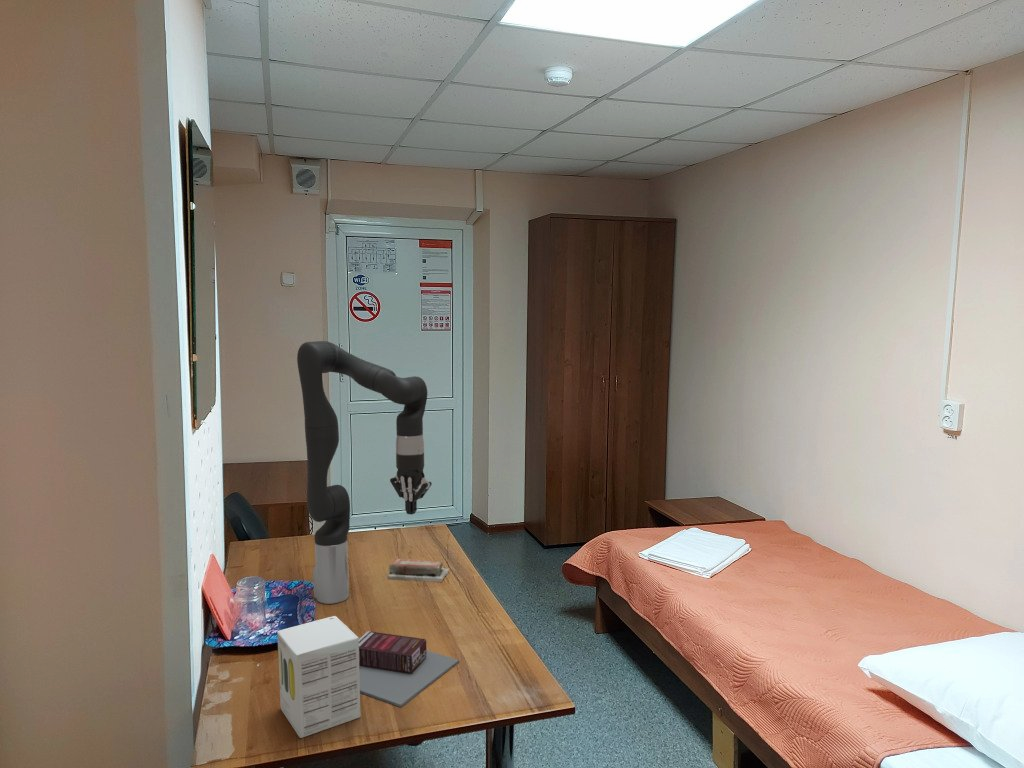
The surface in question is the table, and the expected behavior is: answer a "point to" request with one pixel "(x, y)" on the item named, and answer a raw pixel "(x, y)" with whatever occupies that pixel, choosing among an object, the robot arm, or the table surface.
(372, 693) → the mat
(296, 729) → the supplement box
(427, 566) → the packaged product
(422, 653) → the supplement box
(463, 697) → the table surface
